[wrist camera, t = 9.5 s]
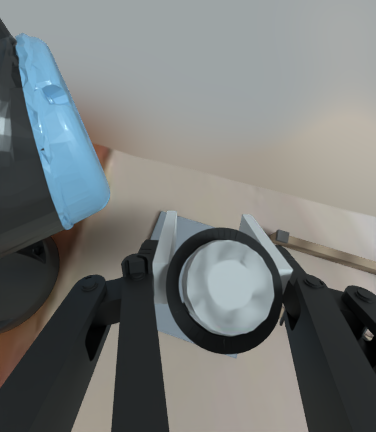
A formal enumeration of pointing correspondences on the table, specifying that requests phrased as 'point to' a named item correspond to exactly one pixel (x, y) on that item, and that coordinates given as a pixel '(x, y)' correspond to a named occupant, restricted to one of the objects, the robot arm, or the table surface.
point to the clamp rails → (323, 254)
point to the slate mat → (182, 234)
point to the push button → (224, 291)
